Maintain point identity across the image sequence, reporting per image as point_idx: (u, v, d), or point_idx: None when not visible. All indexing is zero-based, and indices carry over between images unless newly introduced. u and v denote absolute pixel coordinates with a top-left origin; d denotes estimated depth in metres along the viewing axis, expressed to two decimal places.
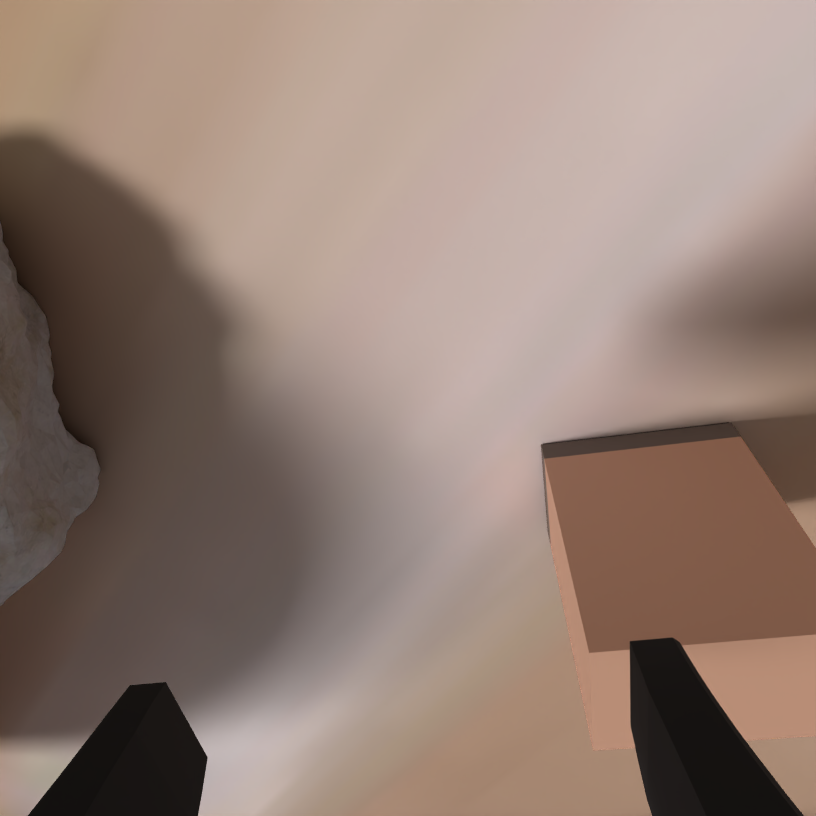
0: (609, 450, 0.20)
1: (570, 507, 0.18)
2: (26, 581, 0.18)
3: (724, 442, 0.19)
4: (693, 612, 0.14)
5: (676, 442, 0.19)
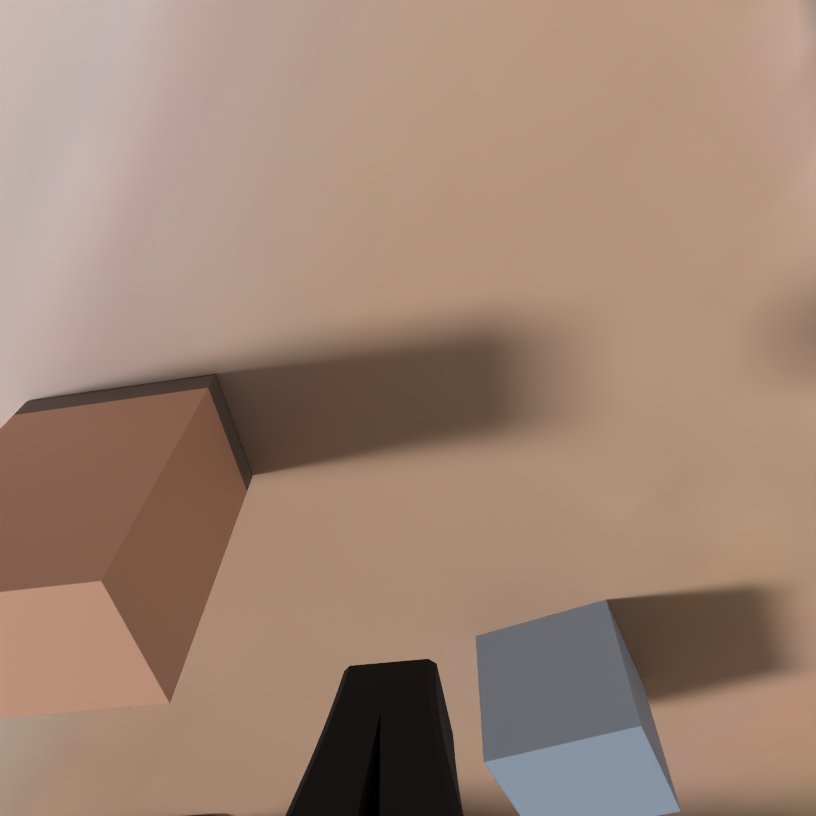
0: (79, 405, 0.18)
1: None
2: None
3: (187, 393, 0.18)
4: None
5: (145, 395, 0.18)
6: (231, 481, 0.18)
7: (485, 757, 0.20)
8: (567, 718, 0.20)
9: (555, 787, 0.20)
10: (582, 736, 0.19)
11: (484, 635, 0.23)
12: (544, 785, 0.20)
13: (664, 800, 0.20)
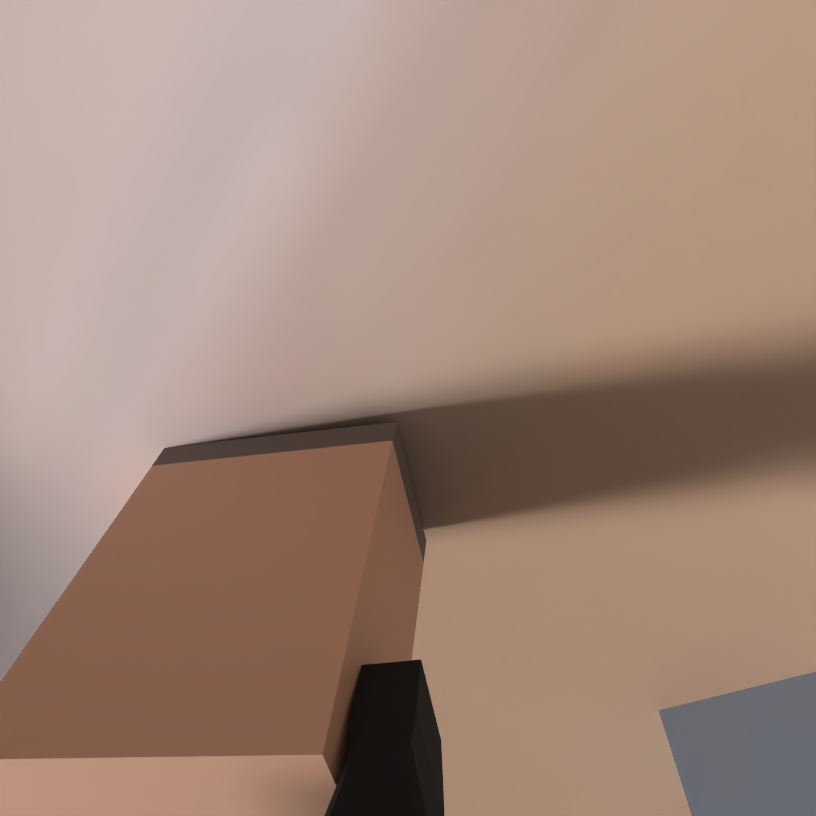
0: (230, 456, 0.15)
1: (121, 533, 0.13)
2: None
3: (367, 448, 0.14)
4: (122, 704, 0.10)
5: (313, 447, 0.14)
6: (412, 555, 0.15)
7: None
8: None
9: None
10: None
11: (670, 709, 0.20)
12: None
13: None
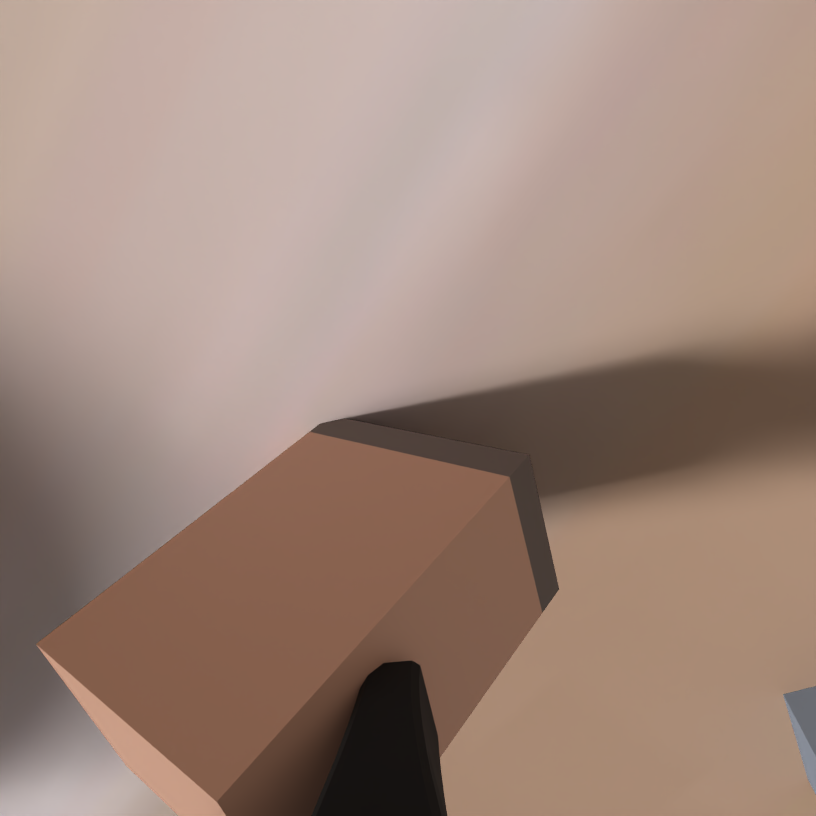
0: (368, 443, 0.15)
1: (247, 492, 0.14)
2: None
3: (480, 477, 0.12)
4: (141, 659, 0.11)
5: (436, 458, 0.13)
6: (516, 604, 0.13)
7: None
8: None
9: None
10: None
11: (795, 693, 0.20)
12: None
13: None
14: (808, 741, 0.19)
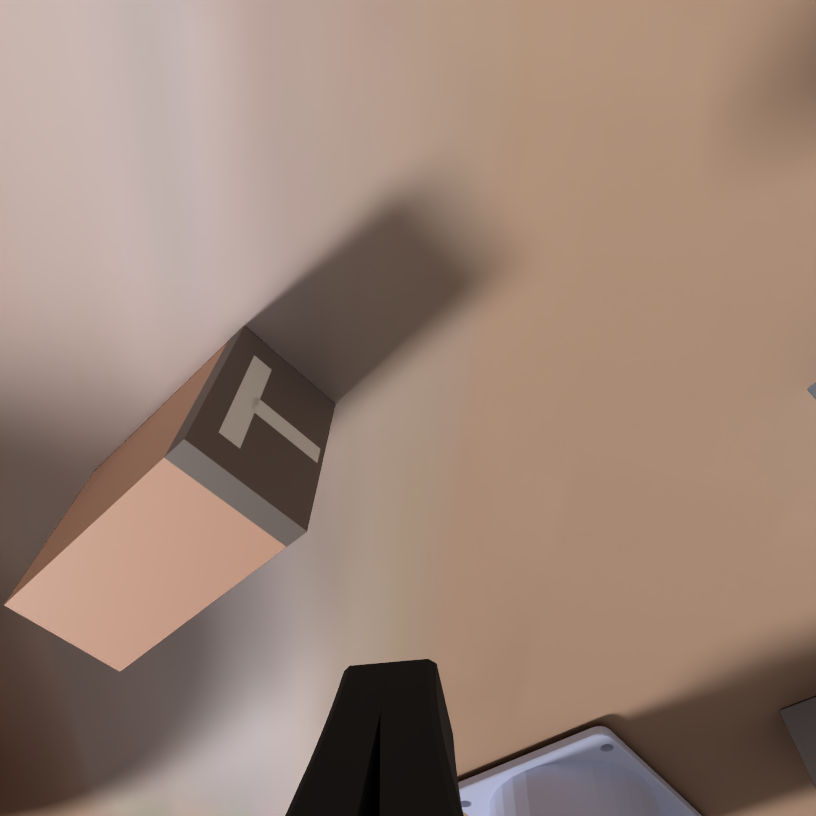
0: (211, 372, 0.17)
1: (176, 394, 0.20)
2: None
3: (166, 448, 0.15)
4: (75, 506, 0.19)
5: (189, 411, 0.16)
6: (237, 539, 0.16)
7: None
8: None
9: None
10: None
11: None
12: None
13: None
14: None
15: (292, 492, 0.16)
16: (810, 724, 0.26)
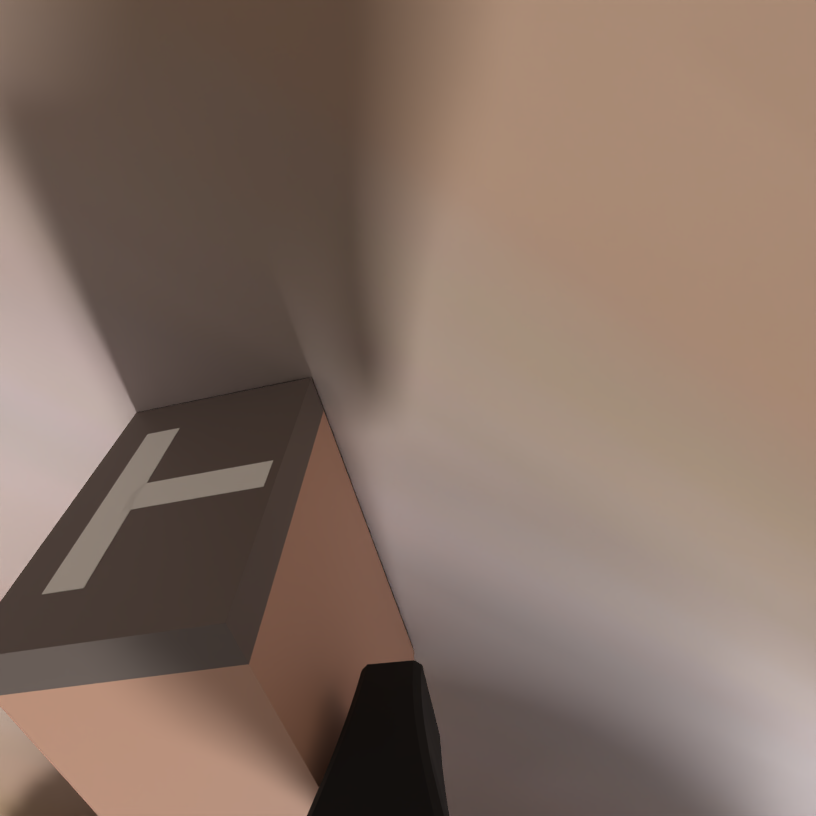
0: None
1: None
2: None
3: None
4: None
5: None
6: (201, 707, 0.08)
7: None
8: None
9: None
10: None
11: None
12: None
13: None
14: None
15: (197, 575, 0.08)
16: None
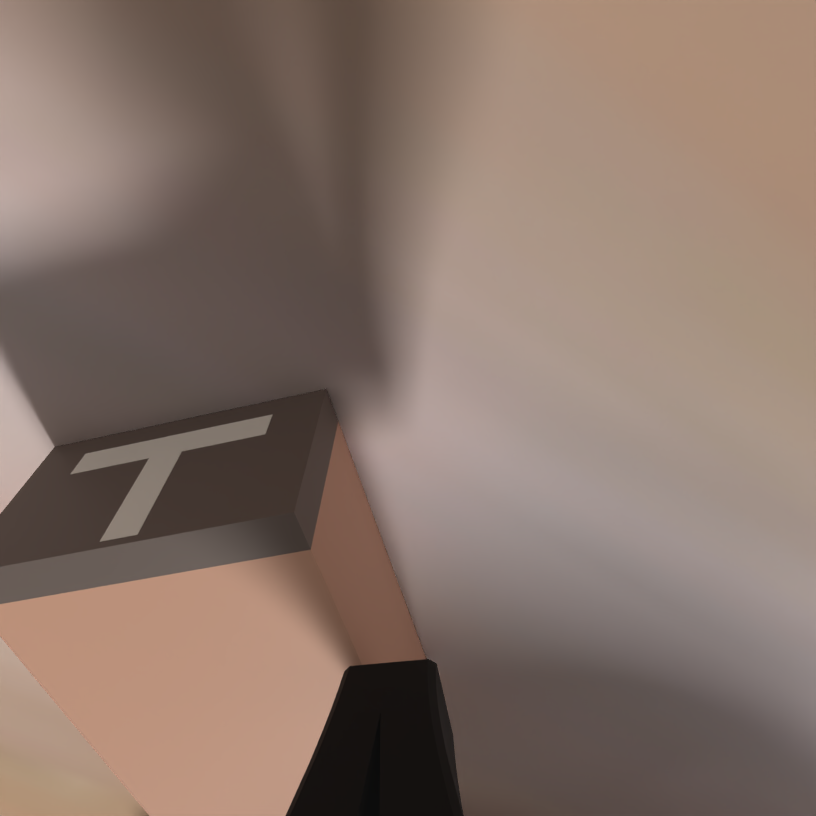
0: None
1: None
2: None
3: None
4: None
5: None
6: None
7: None
8: None
9: None
10: None
11: None
12: None
13: None
14: None
15: (19, 538, 0.11)
16: None
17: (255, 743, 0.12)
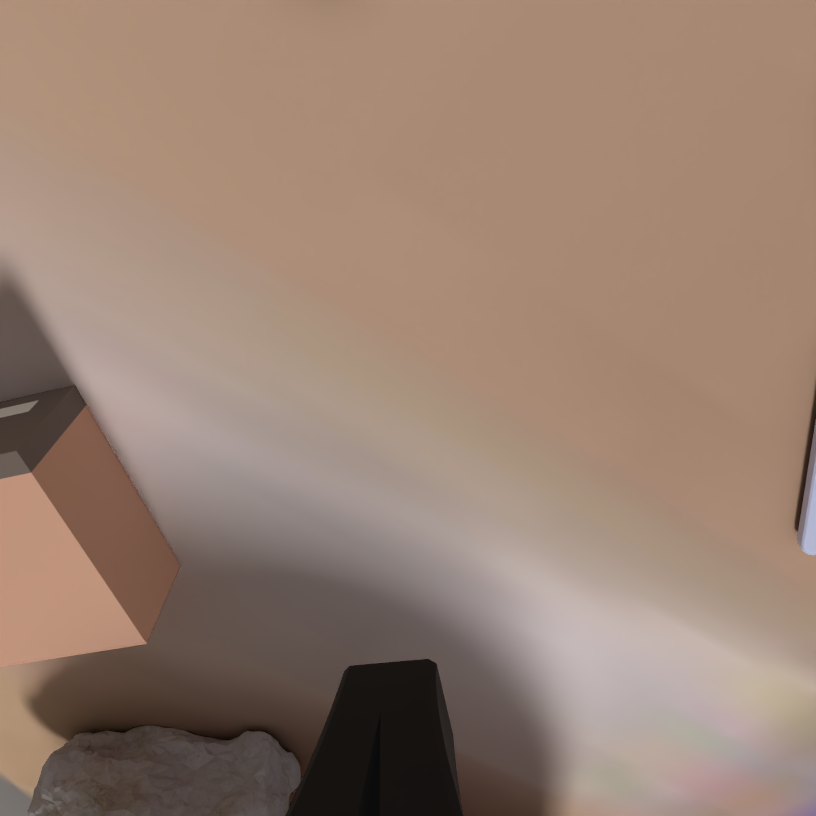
0: None
1: None
2: None
3: None
4: None
5: None
6: None
7: None
8: None
9: None
10: None
11: None
12: None
13: None
14: None
15: None
16: None
17: (32, 599, 0.20)
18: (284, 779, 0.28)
